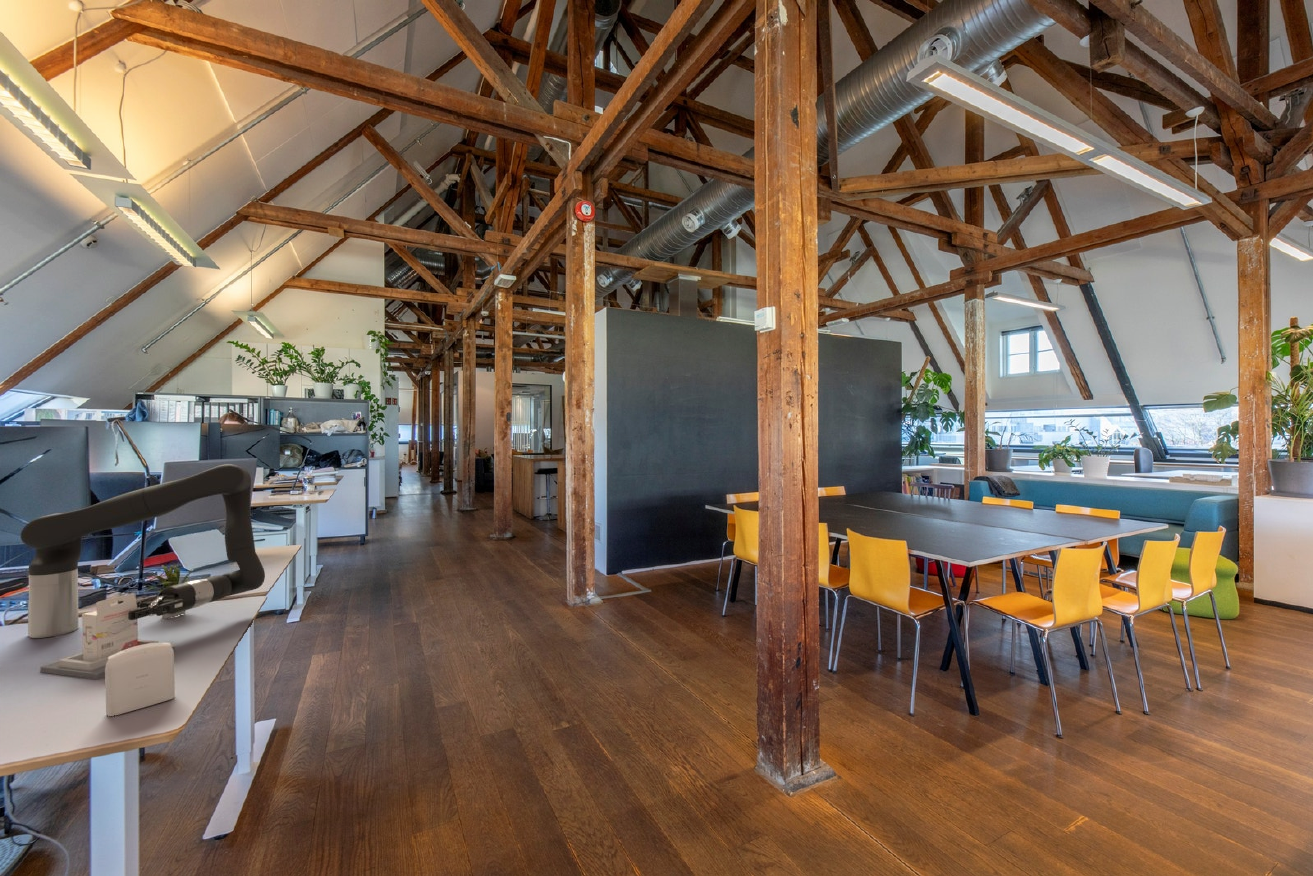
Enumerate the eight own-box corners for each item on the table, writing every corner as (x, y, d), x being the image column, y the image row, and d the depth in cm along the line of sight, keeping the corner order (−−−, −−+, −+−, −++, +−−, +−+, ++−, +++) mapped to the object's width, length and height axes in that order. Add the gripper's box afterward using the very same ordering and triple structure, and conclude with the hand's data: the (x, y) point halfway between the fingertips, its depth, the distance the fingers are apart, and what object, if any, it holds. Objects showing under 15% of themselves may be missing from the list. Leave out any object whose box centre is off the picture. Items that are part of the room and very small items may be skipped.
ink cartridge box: (123, 648, 137) (123, 590, 137) (138, 650, 136) (138, 592, 136) (81, 662, 128) (80, 601, 128) (97, 664, 127) (96, 602, 127)
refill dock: (40, 671, 126) (40, 660, 126) (121, 645, 142) (121, 635, 142) (97, 679, 122) (97, 667, 122) (174, 651, 138) (174, 641, 138)
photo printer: (106, 720, 105) (106, 656, 105) (104, 712, 108) (103, 650, 107) (176, 700, 113) (176, 641, 113) (172, 693, 115) (172, 636, 115)
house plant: (127, 620, 162) (126, 565, 161) (182, 606, 174) (181, 556, 174) (154, 626, 156) (154, 570, 156) (209, 611, 169) (208, 559, 169)
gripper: (167, 580, 150) (95, 597, 135) (207, 583, 147) (138, 601, 131) (167, 607, 151) (95, 627, 135) (207, 611, 147) (138, 632, 131)
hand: (116, 614), depth 133 cm, fingers open, 8 cm apart
